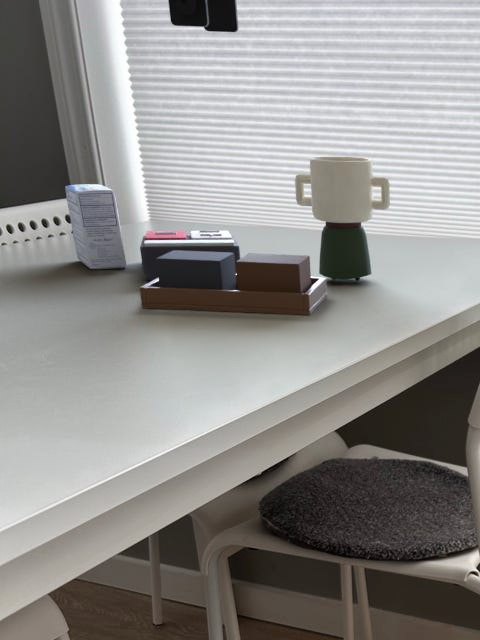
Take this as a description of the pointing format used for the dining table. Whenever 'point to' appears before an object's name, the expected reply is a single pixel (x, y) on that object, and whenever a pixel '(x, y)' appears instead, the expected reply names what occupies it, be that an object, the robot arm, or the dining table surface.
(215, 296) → the tray
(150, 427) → the dining table surface
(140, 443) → the dining table surface
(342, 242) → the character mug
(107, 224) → the medicine box
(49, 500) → the dining table surface
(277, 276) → the pad
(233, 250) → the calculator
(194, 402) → the dining table surface
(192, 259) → the pad
